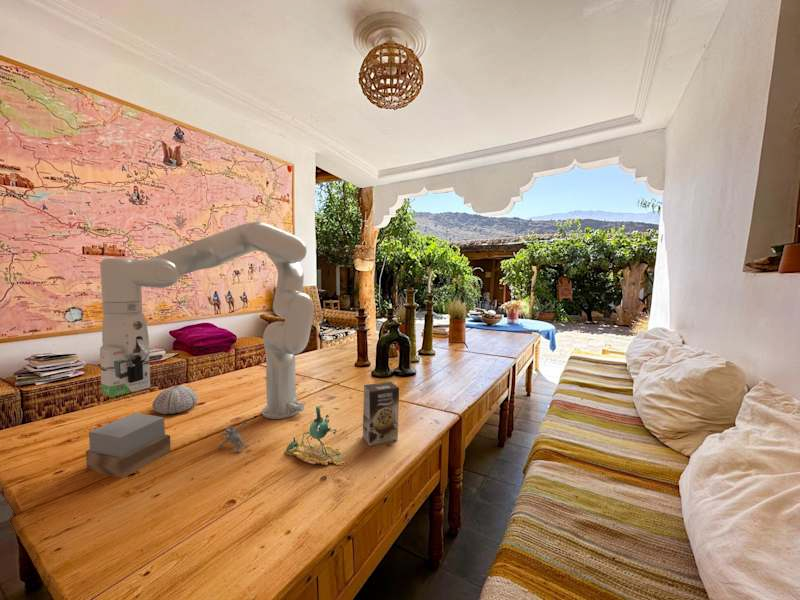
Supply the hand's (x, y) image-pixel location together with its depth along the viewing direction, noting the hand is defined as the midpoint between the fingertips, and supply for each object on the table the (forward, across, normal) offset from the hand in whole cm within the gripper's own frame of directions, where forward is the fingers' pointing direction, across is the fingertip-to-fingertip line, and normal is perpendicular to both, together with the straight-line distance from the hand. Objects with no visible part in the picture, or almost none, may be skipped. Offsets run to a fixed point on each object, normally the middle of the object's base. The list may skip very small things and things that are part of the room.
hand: (126, 378), depth 83 cm
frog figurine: (+22, -44, -17) cm, 52 cm away
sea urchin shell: (+22, +18, -27) cm, 39 cm away
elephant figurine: (+22, -20, -14) cm, 33 cm away
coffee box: (+21, -57, -31) cm, 68 cm away
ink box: (+3, 0, 0) cm, 3 cm away
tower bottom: (+22, 0, 0) cm, 22 cm away
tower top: (+17, 0, 0) cm, 17 cm away
